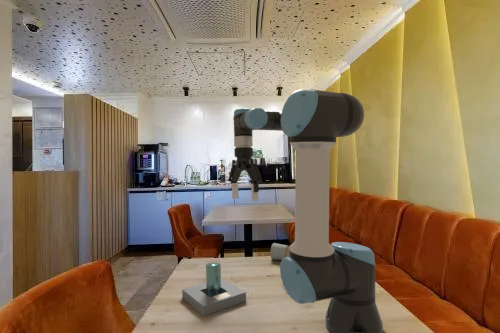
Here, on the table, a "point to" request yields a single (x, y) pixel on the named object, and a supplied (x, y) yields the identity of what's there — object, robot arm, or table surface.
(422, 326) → the table surface
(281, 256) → the ceramic mug
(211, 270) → the teal cylinder
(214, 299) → the socket block
